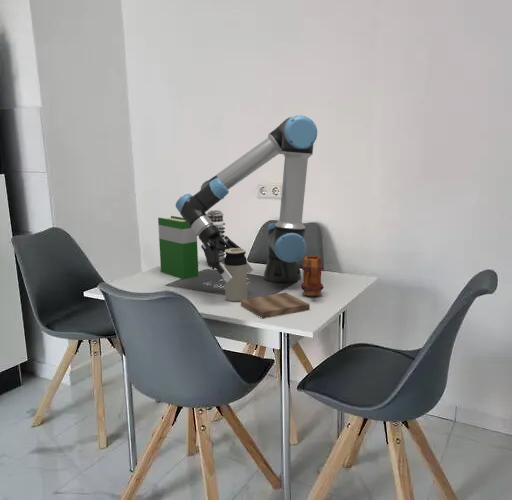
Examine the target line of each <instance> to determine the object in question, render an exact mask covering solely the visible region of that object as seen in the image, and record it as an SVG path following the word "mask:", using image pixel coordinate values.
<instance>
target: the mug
mask: <svg viewBox="0 0 512 500" xmlns="http://www.w3.org/2000/svg"><path fill="white" fill-rule="evenodd" d="M323 269H324V267H323V264H322V257H320V256H318V255H306V256H304V257H303V263H302V265H301V270H302V271H303V272H302V273H303V274H302V275H303V282H302V283H301V284H300V286H301V290H302V291H303V295H304V296H306V297H319V296H321V294H322V290H323V289H325V287H324V285H323V283H322V271H323Z"/></svg>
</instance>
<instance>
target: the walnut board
mask: <svg viewBox="0 0 512 500" xmlns="http://www.w3.org/2000/svg"><path fill="white" fill-rule="evenodd" d="M240 306H241V307H243V308H244V309H246V310H247V311H249V312H251V313H252V312H253V313H252V314H254V315H256V316H257V315H258V317H259V316H260V317H259V318H261V317H262V318H261V319H266V318H265V317H268V318H272V317H271V316H273V317H278V315H279V316H283V315H288V314H294V313H295V314H296V313H300V311H301V312H305V310H306V311H310V310H311V308H310V307H311V306H310V303H308V302H306V301H304V300H302V299H300V298H298V297H296V296H294V295H292V294H291V293H287V292H280V293H275V294H270V295H269V294H268V295H262V296H257V297H256V296H255V297H250V298H247V299H243V300H241V301H240Z"/></svg>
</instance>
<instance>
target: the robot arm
mask: <svg viewBox="0 0 512 500" xmlns="http://www.w3.org/2000/svg"><path fill="white" fill-rule="evenodd" d="M317 136H318V128H317V125H316V123H315V122H314V120H313V119H311V118H310V117H308V116H306V115H301V114H300V115H293V116H291V117H288V118H286V119H284V120H283V121H282V122H281V123H280V124H279V125H278V126H277V127H276V128H274V129H273V130H272V131H270V132H269V133H268V135H267V138H265V139H264V140H263V141H261V142H259V144H257V145H256V146H254V147H253V148H252V149H250V150H249V151H247V152H245V154H243V155H241V157H239V158H238V159H236V160H235V161H234V162H232V163H231V164H229V165H228V166H227V167H225V168H224V169H222V170H221V171H219V172H218V173H217V174H216V175H214V176H212V177H211V178H209V180H206V181H204V182H203V183H202V185H201V186H200V190H199V191H198V192H197V193H195V194H194V195H192V194H191V193H185V194H183V195H182V196H180V197H179V198H178V199H177V201H176V202H175V208H176V209H177V211H178V213H179V215H180V216H181V218H184V219H185V221H186V222H187V223H188V224H189V226H190V227H191V228H192V229H193V231H194V232H195V233H196V235H197V237H198V239H199V241H200V242H202V244H201V245H200V248H201V249H202V251H203V253H204V256H205V259H206V264H207V263H208V266H209V267H208V266H207V267H208V268H211V269H212V270H216V271H217V272H218V274H220V275H221V277H222V279H224V282H225V281H226V282H229V281H230V280H231V278H232V276H231V275H230V273H229V272H228V271H227V269H226V268H225V267H224V266H223V264H222V263H220V264H219V253H218V252H219V251H223V252H224V253H225V250H226V249H230V248H241V246H239V245H237V244H236V243H235V242H234V241H232V240H231V238H229V237H228V236H227V235H225V237H224V238H221V237H220V231H219V230H218V229H217V227H216V226H215V225H214V223H213V222H212V221H211V219H210V218H209V217H208V216H207V212H209V211H210V209H212V207H214V206H215V205H216V204H218V203H219V202H220V201H222V200H224V199H225V197H227V195H228V194H229V192H230V191H229V190H230V189H232V187H234V186H235V185H237V184H238V183H240V182H241V181H243V180H244V179H245V178H247V177H249V176H250V175H251V174H252V173H254V172H255V171H257V170H258V169H260V168H261V167H262V166H264V165H265V164H267V163H268V162H270V161H271V160H272V159H274V158H275V157H276V156H278V155H282V156H283V157H284V161H283V162H284V163H283V174H282V186H281V197H280V209H279V210H280V211H279V220H278V221H277V222H273V223H269V224H268V226H267V243H268V244H267V248H268V249H267V250H268V251H267V262H266V266H265V270H264V273H263V274H264V275H263V278H264V280H266V281H268V282H273V283H292V282H297V281H299V280H301V278H302V277H301V275H302V273H301V269H300V266H299V262H298V261H299V260H301V259H302V258H304V255H305V253H306V251H307V243H306V239H305V234H306V226H305V224H304V223H303V214H304V213H303V212H304V203H305V194H306V193H305V192H306V181H307V172H308V163H309V162H308V161H309V158H310V157H311V156H312V155H313V154H314V143H316V140H317V138H318V137H317ZM245 254H247V252H246V251H245ZM253 271H254V267H253V266H252V264H251V263H250V262H249V260H248V259H247V275H250V274H251V273H252V272H253Z"/></svg>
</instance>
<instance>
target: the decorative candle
mask: <svg viewBox="0 0 512 500" xmlns="http://www.w3.org/2000/svg"><path fill="white" fill-rule="evenodd" d="M206 214H207V216H208V217H209V218H210V219H211V221H212V222H213V223H214V225H215V226H216V227H217V229H218V230H219V231H220V237H221V238H224V237H225V236H226V235H224V234H225V232H226V231H225V229H226V227H224V226H225V225H226V223H224V213H223V212H222V211H221V210H219V209H218V210H217V209H216V210H208V211H207V212H206ZM218 253H219V264H220V263H222V264H223V266H224V259H225V257H226V253H225V252H223V251H219V252H218ZM206 267H208V268H210V267H209V266H208V263H207V262H206Z"/></svg>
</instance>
